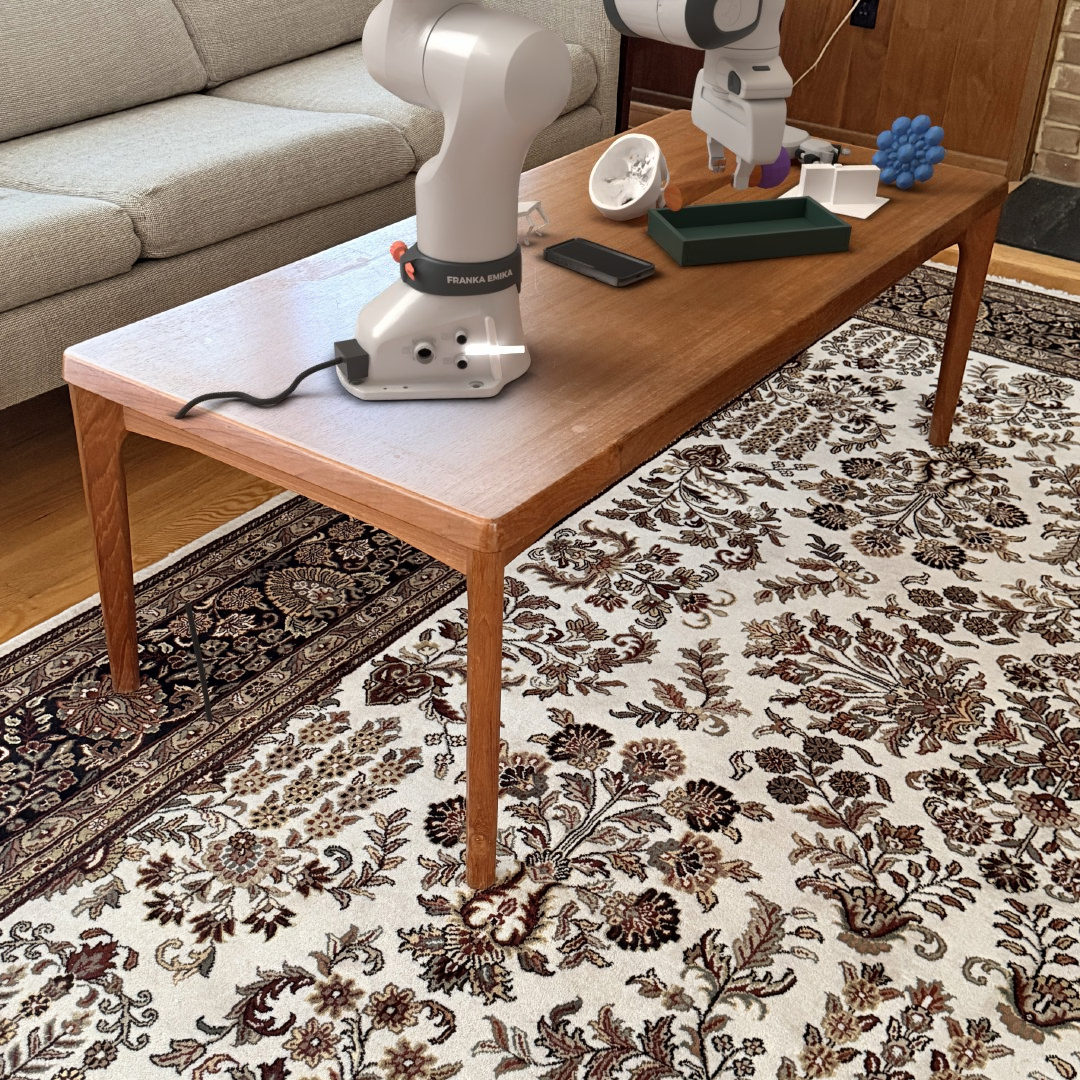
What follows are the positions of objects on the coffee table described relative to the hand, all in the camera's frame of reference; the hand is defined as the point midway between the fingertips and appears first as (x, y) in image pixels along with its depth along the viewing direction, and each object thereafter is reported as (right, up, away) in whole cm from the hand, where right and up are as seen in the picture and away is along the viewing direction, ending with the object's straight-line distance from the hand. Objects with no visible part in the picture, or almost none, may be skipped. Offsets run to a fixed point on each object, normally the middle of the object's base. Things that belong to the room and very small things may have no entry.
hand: (727, 179), depth 157 cm
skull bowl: (-10, +4, +30) cm, 32 cm away
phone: (-16, -9, +11) cm, 21 cm away
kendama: (0, -2, +1) cm, 2 cm away
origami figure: (-29, -4, +19) cm, 35 cm away
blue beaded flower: (+35, +11, +42) cm, 56 cm away
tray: (+6, -3, +20) cm, 21 cm away
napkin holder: (+22, +7, +36) cm, 43 cm away
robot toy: (+20, +18, +52) cm, 59 cm away
